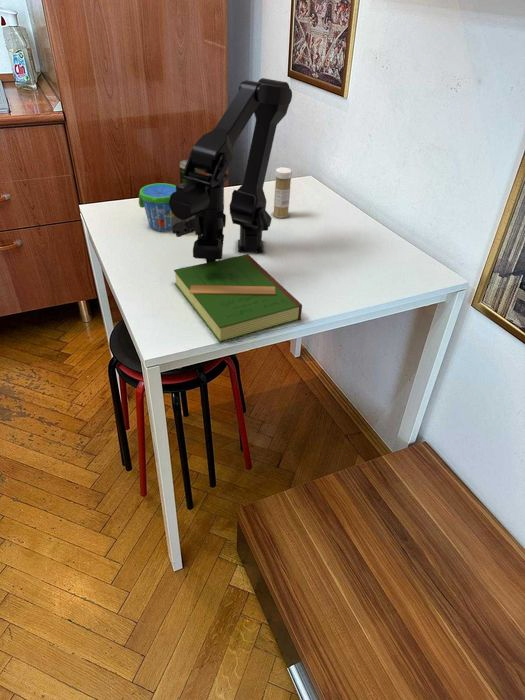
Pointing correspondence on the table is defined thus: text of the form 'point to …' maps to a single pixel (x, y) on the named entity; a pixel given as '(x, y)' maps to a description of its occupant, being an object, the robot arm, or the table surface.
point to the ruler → (232, 290)
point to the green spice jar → (182, 167)
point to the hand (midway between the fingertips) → (210, 266)
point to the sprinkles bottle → (282, 192)
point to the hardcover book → (237, 298)
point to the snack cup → (157, 205)
